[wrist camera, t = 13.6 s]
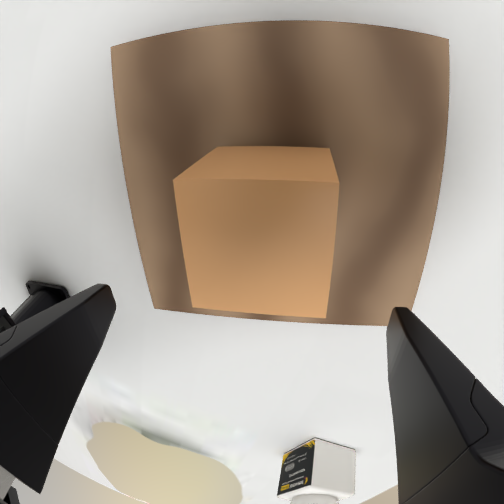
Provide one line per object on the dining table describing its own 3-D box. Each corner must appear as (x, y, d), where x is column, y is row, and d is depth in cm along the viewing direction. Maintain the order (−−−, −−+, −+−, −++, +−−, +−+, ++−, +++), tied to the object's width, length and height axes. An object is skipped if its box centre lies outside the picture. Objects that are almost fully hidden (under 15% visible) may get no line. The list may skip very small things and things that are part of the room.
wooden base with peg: (158, 301, 26) (116, 370, 19) (119, 47, 16) (31, 46, 9) (403, 317, 23) (424, 400, 16) (442, 40, 13) (514, 25, 6)
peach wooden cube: (225, 243, 19) (192, 307, 14) (217, 146, 16) (172, 179, 11) (323, 248, 18) (325, 318, 13) (329, 148, 15) (339, 182, 10)
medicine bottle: (314, 436, 33) (305, 525, 23) (356, 449, 34) (354, 529, 24) (282, 453, 37) (269, 530, 27) (323, 465, 38) (316, 536, 28)
